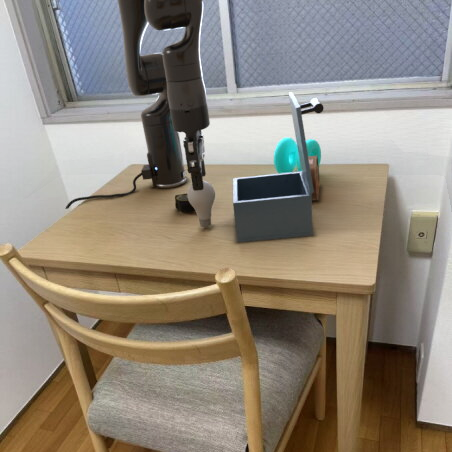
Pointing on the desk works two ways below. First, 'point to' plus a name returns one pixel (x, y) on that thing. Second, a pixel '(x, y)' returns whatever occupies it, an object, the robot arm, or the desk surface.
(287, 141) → the turquoise spool
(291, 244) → the desk surface
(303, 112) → the lid
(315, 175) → the tin
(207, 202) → the lightbulb
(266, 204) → the compartment
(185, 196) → the tape measure
